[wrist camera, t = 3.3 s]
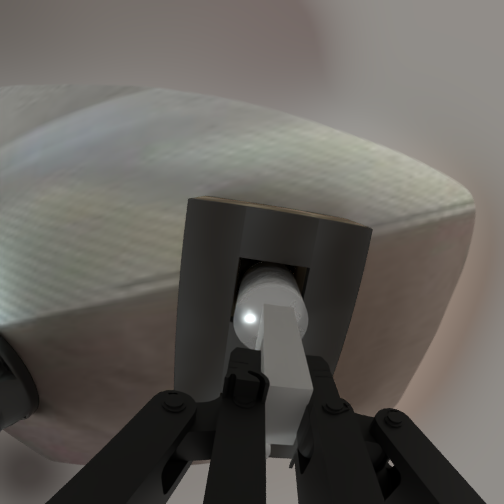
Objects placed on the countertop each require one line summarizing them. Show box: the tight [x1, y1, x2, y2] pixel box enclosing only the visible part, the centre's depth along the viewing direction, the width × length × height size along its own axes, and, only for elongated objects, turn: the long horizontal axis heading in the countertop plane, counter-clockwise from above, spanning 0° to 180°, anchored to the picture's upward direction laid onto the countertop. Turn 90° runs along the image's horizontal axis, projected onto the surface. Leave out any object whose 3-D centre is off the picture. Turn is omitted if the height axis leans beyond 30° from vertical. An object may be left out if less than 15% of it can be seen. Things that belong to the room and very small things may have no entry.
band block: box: [174, 196, 373, 459], centre depth 24 cm, size 12×22×6 cm, turn 171°
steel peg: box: [233, 261, 308, 350], centre depth 18 cm, size 4×4×6 cm
